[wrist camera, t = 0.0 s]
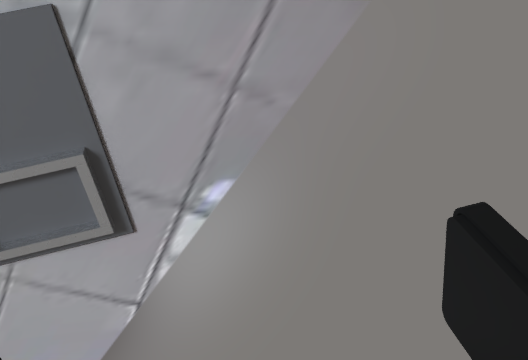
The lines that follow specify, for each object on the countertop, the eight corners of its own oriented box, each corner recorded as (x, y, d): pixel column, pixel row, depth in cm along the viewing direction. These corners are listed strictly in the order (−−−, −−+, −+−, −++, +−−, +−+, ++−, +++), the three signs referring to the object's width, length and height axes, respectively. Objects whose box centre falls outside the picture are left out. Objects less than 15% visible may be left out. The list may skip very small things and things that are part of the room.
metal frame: (-62, 180, 45) (-68, 188, 43) (84, 146, 46) (83, 154, 45) (-17, 256, 49) (-21, 265, 48) (114, 224, 51) (113, 232, 49)
